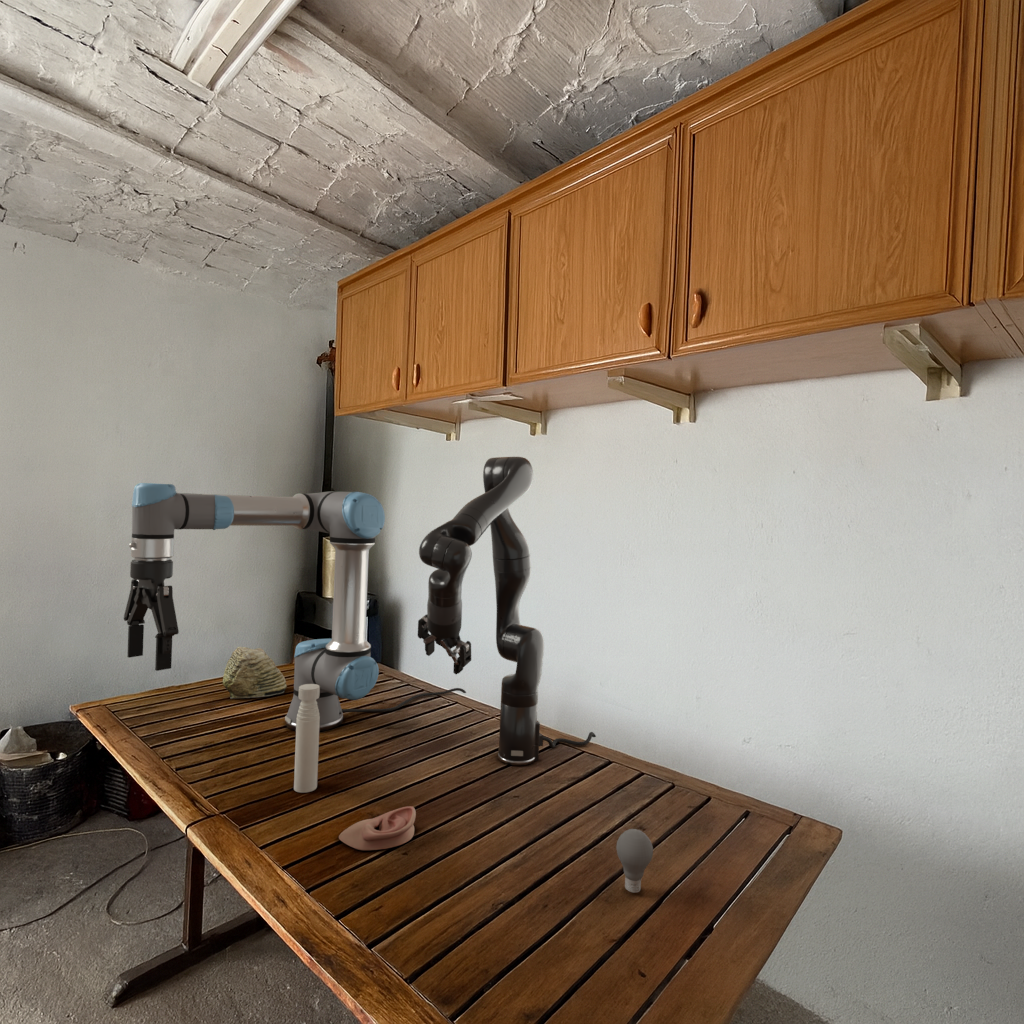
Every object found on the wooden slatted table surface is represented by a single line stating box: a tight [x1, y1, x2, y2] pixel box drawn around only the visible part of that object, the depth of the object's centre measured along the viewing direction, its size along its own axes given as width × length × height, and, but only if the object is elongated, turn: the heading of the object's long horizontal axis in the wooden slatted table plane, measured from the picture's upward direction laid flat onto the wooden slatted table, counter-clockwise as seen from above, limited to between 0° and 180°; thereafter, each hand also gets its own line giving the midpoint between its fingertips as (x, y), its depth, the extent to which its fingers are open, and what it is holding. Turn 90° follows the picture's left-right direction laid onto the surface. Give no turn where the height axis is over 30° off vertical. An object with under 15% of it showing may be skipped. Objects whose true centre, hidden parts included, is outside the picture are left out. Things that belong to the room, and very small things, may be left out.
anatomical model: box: [338, 805, 417, 851], centre depth 119 cm, size 13×4×12 cm
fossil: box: [222, 646, 288, 699], centre depth 198 cm, size 9×18×15 cm, turn 132°
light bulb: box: [615, 828, 654, 894], centre depth 106 cm, size 6×6×10 cm
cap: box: [298, 684, 320, 701], centre depth 137 cm, size 4×4×2 cm
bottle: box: [293, 699, 320, 794], centre depth 137 cm, size 5×5×22 cm
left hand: (148, 662), depth 129 cm, fingers open, 13 cm apart
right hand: (443, 662), depth 147 cm, fingers open, 8 cm apart
